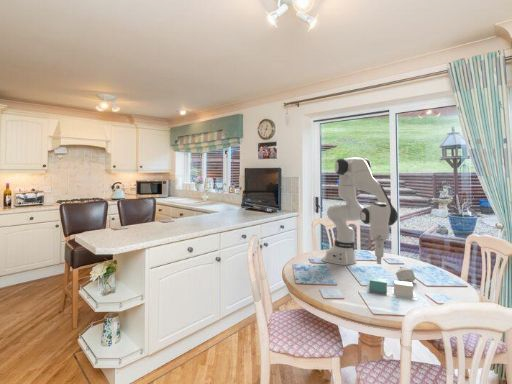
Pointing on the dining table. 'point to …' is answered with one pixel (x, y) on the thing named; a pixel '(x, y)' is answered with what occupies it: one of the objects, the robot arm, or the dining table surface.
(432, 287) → the dining table surface
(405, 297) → the white flat slab
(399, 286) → the cream brick
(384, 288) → the teal brick
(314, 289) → the dining table surface
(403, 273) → the grey brown rock
